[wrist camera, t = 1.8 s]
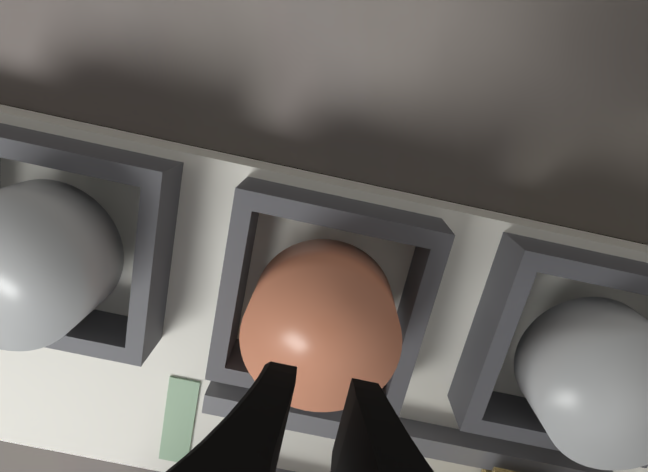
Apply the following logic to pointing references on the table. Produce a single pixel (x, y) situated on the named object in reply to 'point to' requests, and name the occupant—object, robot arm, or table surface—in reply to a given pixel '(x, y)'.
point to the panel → (239, 284)
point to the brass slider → (497, 470)
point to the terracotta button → (323, 322)
